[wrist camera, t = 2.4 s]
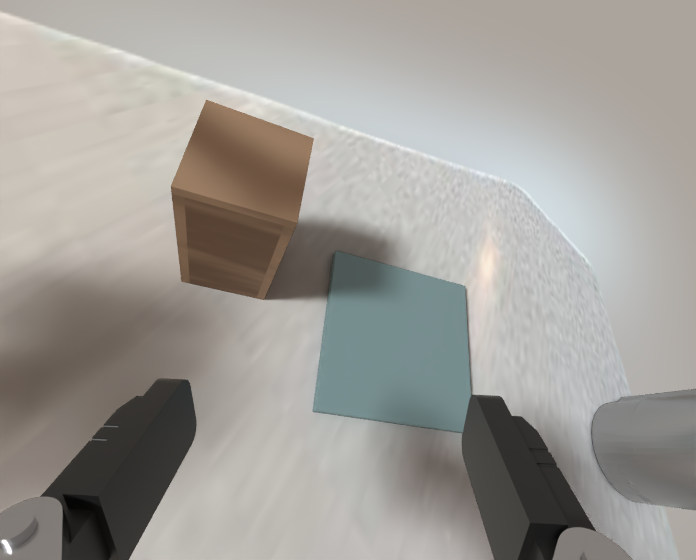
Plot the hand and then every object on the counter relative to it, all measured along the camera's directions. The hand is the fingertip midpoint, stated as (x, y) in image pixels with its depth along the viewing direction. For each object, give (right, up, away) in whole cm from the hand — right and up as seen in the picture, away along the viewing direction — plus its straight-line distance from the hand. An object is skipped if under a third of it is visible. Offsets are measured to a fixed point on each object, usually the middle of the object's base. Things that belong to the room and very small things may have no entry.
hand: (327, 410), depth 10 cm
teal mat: (+5, -2, +22) cm, 23 cm away
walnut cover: (-9, +6, +20) cm, 23 cm away
